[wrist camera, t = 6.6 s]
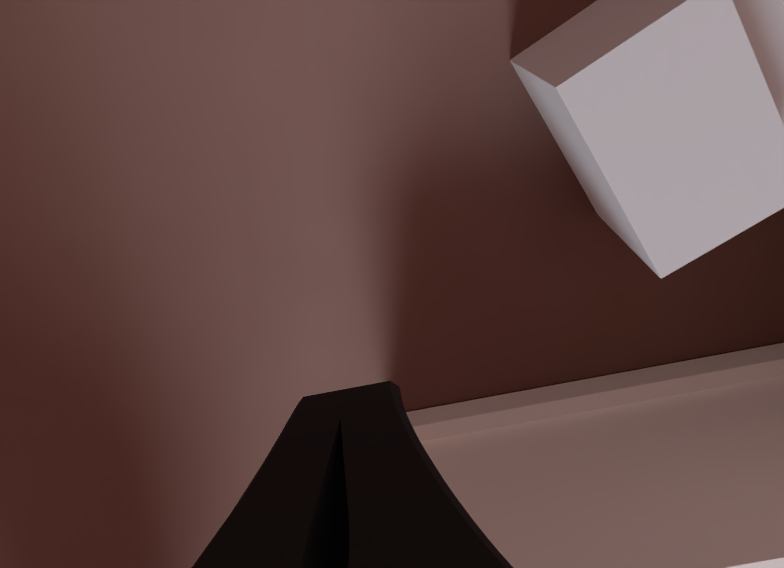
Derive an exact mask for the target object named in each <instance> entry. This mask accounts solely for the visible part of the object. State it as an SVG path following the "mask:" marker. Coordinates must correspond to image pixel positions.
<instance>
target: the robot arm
mask: <svg viewBox="0 0 784 568" xmlns="http://www.w3.org/2000/svg"><path fill="white" fill-rule="evenodd" d="M192 568H513V567H512V566H511V564H510V563H509V562H508V561H507V560H506V559H505V558H504V557H503V555H502V554H501V553H500V552H499V551H498V550H497V549H496V547H495V546H494V545H493V544H492V543H491V541H490V540H489V539H488V538H487V537H486V535H485V534H484V533H483V532H482V530H481V529H480V528H479V527H478V525H477V524H476V523H475V522H474V520H473V519H472V518H471V516H470V515H469V514H468V512H467V511H466V510H465V508H464V507H463V506H462V504H461V503H460V502H459V500H458V499H457V498H456V496H455V495H454V493H453V492H452V491H451V489H450V488H449V486H448V485H447V483H446V482H445V480H444V479H443V477H442V476H441V474H440V473H439V471H438V470H437V468H436V466H435V465H434V463H433V462H432V460H431V458H430V457H429V455H428V454H427V452H426V451H425V449H424V447H423V445H422V444H421V442H420V440H419V438H418V436H417V435H416V433H415V431H414V429H413V427H412V425H411V423H410V421H409V418H408V416H407V414H406V411H405V409H404V406H403V402H402V398H401V393H400V388H399V386H397V385H396V384H394V383H392V382H391V381H386V382H381V383H376V384H370V385H365V386H360V387H354V388H349V389H343V390H338V391H333V392H327V393H322V394H317V395H311V396H306V397H303V398H302V399H301V401H300V402H299V403H298V405H297V406H296V408H295V410H294V411H293V413H292V415H291V417H290V418H289V420H288V422H287V423H286V425H285V427H284V429H283V430H282V432H281V434H280V436H279V437H278V439H277V441H276V442H275V444H274V446H273V447H272V449H271V451H270V452H269V454H268V456H267V457H266V459H265V461H264V462H263V464H262V466H261V467H260V469H259V470H258V472H257V473H256V475H255V477H254V478H253V480H252V481H251V483H250V484H249V486H248V488H247V489H246V491H245V492H244V494H243V495H242V497H241V498H240V500H239V502H238V503H237V505H236V506H235V508H234V509H233V511H232V512H231V514H230V515H229V517H228V518H227V519H226V521H225V522H224V524H223V525H222V526H221V528H220V529H219V531H218V532H217V533H216V535H215V536H214V538H213V539H212V540H211V542H210V543H209V544H208V546H207V547H206V549H205V550H204V551H203V553H202V554H201V556H200V557H199V558H198V560H197V561H196V563H195V564H194V565H193V567H192Z"/></svg>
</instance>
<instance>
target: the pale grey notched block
mask: <svg viewBox="0 0 784 568" xmlns="http://www.w3.org/2000/svg"><path fill="white" fill-rule="evenodd" d="M510 62H511V64H512V65H513V67H514V69H515V71H516V72H517V74H518V76H519V78H520V79H521V81H522V83H523V85H524V86H525V88H526V90H527V92H528V93H529V95H530V97H531V99H532V100H533V102H534V104H535V106H536V107H537V109H538V111H539V113H540V114H541V116H542V118H543V120H544V121H545V123H546V125H547V127H548V128H549V130H550V132H551V134H552V135H553V137H554V139H555V141H556V142H557V144H558V146H559V148H560V149H561V151H562V153H563V155H564V156H565V158H566V160H567V162H568V163H569V165H570V167H571V169H572V170H573V172H574V174H575V176H576V177H577V179H578V181H579V183H580V184H581V186H582V188H583V190H584V191H585V193H586V195H587V197H588V198H589V200H590V202H591V204H592V205H593V207H594V209H595V211H596V213H597V214H598V216H599V217H600V218H601V219H602V220H603V221H604V222H605V223H606V224H607V225H608V226H609V227H610V228H611V229H612V230H613V231H614V232H615V233H616V234H617V235H618V236H619V237H620V238H621V239H622V240H623V241H624V242H625V243H626V244H627V245H628V246H629V247H630V248H631V249H632V250H633V251H634V252H635V253H636V254H637V255H638V256H639V257H640V258H641V259H642V260H643V261H644V262H645V263H646V264H647V265H648V266H649V267H650V268H651V269H652V270H653V271H654V272H655V273H656V274H657V275H658V276H659V277H660V278H661V279H662V278H663V277H665V276H667V275H669V274H670V273H672V272H674V271H676V270H677V269H679V268H681V267H682V266H684V265H686V264H688V263H689V262H691V261H693V260H694V259H696V258H698V257H700V256H701V255H703V254H705V253H707V252H708V251H710V250H712V249H713V248H715V247H717V246H719V245H720V244H722V243H724V242H726V241H727V240H729V239H731V238H732V237H734V236H736V235H738V234H739V233H741V232H743V231H745V230H746V229H748V228H750V227H751V226H753V225H755V224H757V223H758V222H760V221H762V220H763V219H765V218H767V217H769V216H770V215H772V214H774V213H776V212H777V211H779V210H781V209H782V208H784V0H597V1H595V2H594V3H592V4H591V5H590V6H588V7H587V8H585V9H584V10H582V11H581V12H579V13H578V14H576V15H575V16H573V17H572V18H571V19H569V20H568V21H566V22H565V23H563V24H562V25H560V26H559V27H557V28H556V29H555V30H553V31H552V32H550V33H549V34H547V35H546V36H544V37H543V38H541V39H540V40H538V41H537V42H536V43H534V44H533V45H531V46H530V47H528V48H527V49H525V50H524V51H522V52H521V53H519V54H518V55H517V56H515V57H514V58H512V59H511V60H510Z"/></svg>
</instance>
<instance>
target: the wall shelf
mask: <svg viewBox="0 0 784 568" xmlns="http://www.w3.org/2000/svg"><path fill="white" fill-rule="evenodd" d="M406 414H407V416H408V418H409V421H410V423H411V425H412V427H413V429H414V431H415V433H416V435H417V436H418V438H419V440H420V442H421V444H422V445H423V447H424V449H425V451H426V452H427V454H428V455H429V457H430V458H431V460H432V462H433V463H434V465H435V466H436V468H437V470H438V471H439V473H440V474H441V476H442V477H443V479H444V480H445V482H446V483H447V485H448V486H449V488H450V489H451V491H452V492H453V493H454V495H455V496H456V498H457V499H458V500H459V502H460V503H461V504H462V506H463V507H464V508H465V510H466V511H467V512H468V514H469V515H470V516H471V518H472V519H473V520H474V522H475V523H476V524H477V525H478V527H479V528H480V529H481V530H482V532H483V533H484V534H485V535H486V537H487V538H488V539H489V540H490V541H491V543H492V544H493V545H494V546H495V547H496V549H497V550H498V551H499V552H500V553H501V554H502V555H503V557H504V558H505V559H506V560H507V561H508V562H509V563H510V564H511V566H512V567H513V568H784V343H779V344H774V345H768V346H763V347H758V348H752V349H747V350H741V351H736V352H730V353H725V354H720V355H714V356H709V357H703V358H698V359H692V360H687V361H682V362H676V363H671V364H665V365H660V366H654V367H649V368H644V369H638V370H633V371H627V372H622V373H616V374H611V375H606V376H600V377H595V378H589V379H584V380H578V381H573V382H568V383H562V384H557V385H551V386H546V387H540V388H535V389H530V390H524V391H519V392H513V393H508V394H502V395H497V396H492V397H486V398H481V399H475V400H470V401H464V402H459V403H454V404H448V405H443V406H437V407H432V408H426V409H421V410H416V411H410V412H406Z"/></svg>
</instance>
